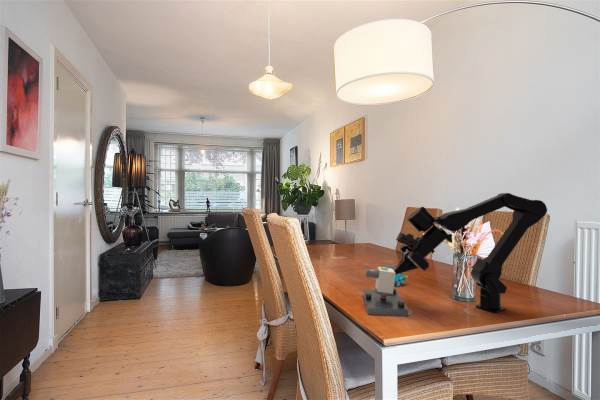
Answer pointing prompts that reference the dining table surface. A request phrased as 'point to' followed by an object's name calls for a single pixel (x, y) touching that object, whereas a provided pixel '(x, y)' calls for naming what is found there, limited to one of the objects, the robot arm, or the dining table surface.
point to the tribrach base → (384, 304)
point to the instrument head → (383, 280)
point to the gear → (398, 277)
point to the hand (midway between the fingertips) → (394, 273)
